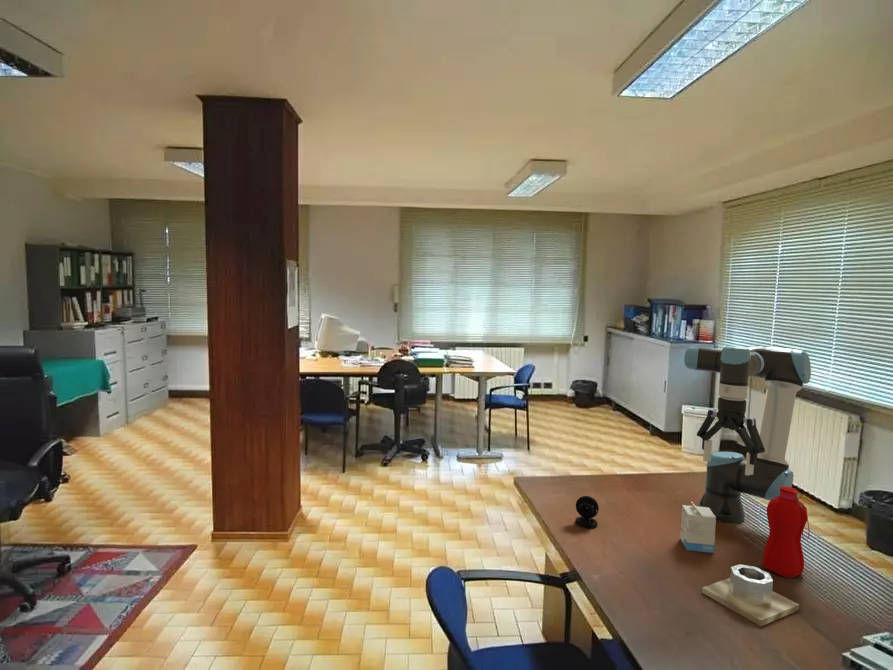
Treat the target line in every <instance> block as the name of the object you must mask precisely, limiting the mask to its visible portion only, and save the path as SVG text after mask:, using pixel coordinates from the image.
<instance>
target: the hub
mask: <svg viewBox="0 0 893 670" xmlns="http://www.w3.org/2000/svg"><path fill="white" fill-rule="evenodd" d="M746 569H751V570H754V571H756V572H758V580H755V579H749V578H747V577H745V570H746ZM729 578H730V586H729V589H730V592H731V594H732V596H733V597H735V598H737V599H739V600H741V601H742V602H744V603H746V604H751V605H757V606H762V607H763V606H765V605H767V604H770V603H771V600H772V591H773V588H774V587H773V584H774V580H773V578H772V576H771V574H770V572H767V571H766V570H765V571H764V570H762V569H760V568H758V567H756V566H752V565H746V564H736V565H733V566H731V567H730V575H729Z"/></svg>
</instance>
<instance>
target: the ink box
mask: <svg viewBox="0 0 893 670" xmlns="http://www.w3.org/2000/svg"><path fill="white" fill-rule="evenodd" d="M690 502H691V504H692V505H686V504H682V507H681V508H682V509H681V521H680V522H681V523H680V535H679V537H680V540H681V542H682V544H683V546H684V549H685V550H686V551H692V552H701V553H709V554H710V553H711V554H714V553H715V543H716V542H715V541H716V524H717V522H716V521H717V520H716V517H715V515H714V514H713V513H712V511H711V510H710V508H708V507H699V505H698V506H697V505H696V504H695V503H694V502H693V501H690Z"/></svg>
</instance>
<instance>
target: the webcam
mask: <svg viewBox="0 0 893 670" xmlns="http://www.w3.org/2000/svg"><path fill="white" fill-rule="evenodd" d="M575 510H576V512H577V513H578V514H579V516H578V517H576V519H575V525H577V526H578V527H580V528H583V529H587V530H588V529H595V528H596V527H598V521H597V519H594V517H596V516H598V515H597V514H598V513H599V510H600V507H599V503H598V501H597V500H596V499H595V498H594V497H592V496H589V495H582V496H580V497H578V499H577V500H576V502H575Z"/></svg>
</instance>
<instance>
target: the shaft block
mask: <svg viewBox="0 0 893 670" xmlns="http://www.w3.org/2000/svg"><path fill="white" fill-rule="evenodd" d="M745 577H747V578H749V579H755V580H758V572H756V571H754V570H751V569H746V570H745ZM729 586H730V577H729V578H726V579H723V580H720V581H716V582H714V583H711V584H708V585H706V586H703V587H702V592H701V593H702V594H704V595H706V596H708V597H709V598H710V599H713V600H714V601H716V602H718V603H720V605H723V606H725V607H726V608H728V609H730V610H731V611H733V612H735V613H737V614H738V615H740V616H742V617H744V618H746V619H747V620H749V621H751V622H752V623H755V624H756V625H757V626H759V627H763V626H765V625H767V624H770V623H772V622H774V621H776V620H779V619H782V618H783V617H784V618H785V617H786V616H788V615H790V614H793V613H795V612H798V611H799V610H800V609H799V608H800V604H799V603H797V602H795V601H793V600H791V599H789V598H787V597H785V596H783V595H781V594H779V593H777V592H775V591H773V590H772V600H771V603H770V604H767V605H765V606H763V607H762V606H757V605H751V604H746V603H744V602H742V601H741V600H739V599H737V598H735V597H733V596H732V594H731V592H730V589H729Z"/></svg>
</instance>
